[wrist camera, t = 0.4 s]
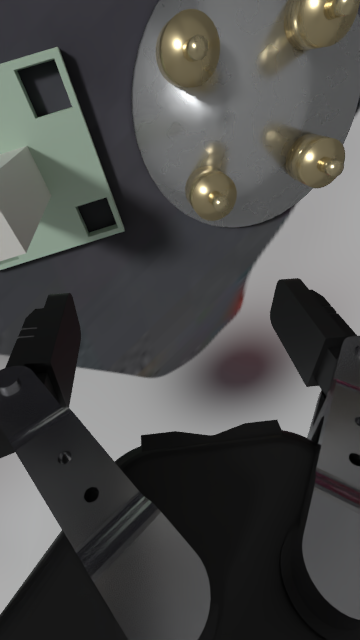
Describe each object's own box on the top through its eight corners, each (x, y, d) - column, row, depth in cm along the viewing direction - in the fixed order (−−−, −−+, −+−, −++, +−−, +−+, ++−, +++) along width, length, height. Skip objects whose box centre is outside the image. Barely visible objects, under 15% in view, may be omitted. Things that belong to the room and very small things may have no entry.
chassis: (91, -18, 21) (88, -50, 16) (367, -100, 22) (450, -157, 17) (166, 245, 34) (177, 274, 29) (340, 190, 34) (383, 209, 29)
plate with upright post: (-126, 104, 23) (-315, 120, 12) (59, 48, 23) (26, 18, 13) (-10, 268, 31) (-63, 358, 21) (124, 226, 32) (135, 295, 21)
